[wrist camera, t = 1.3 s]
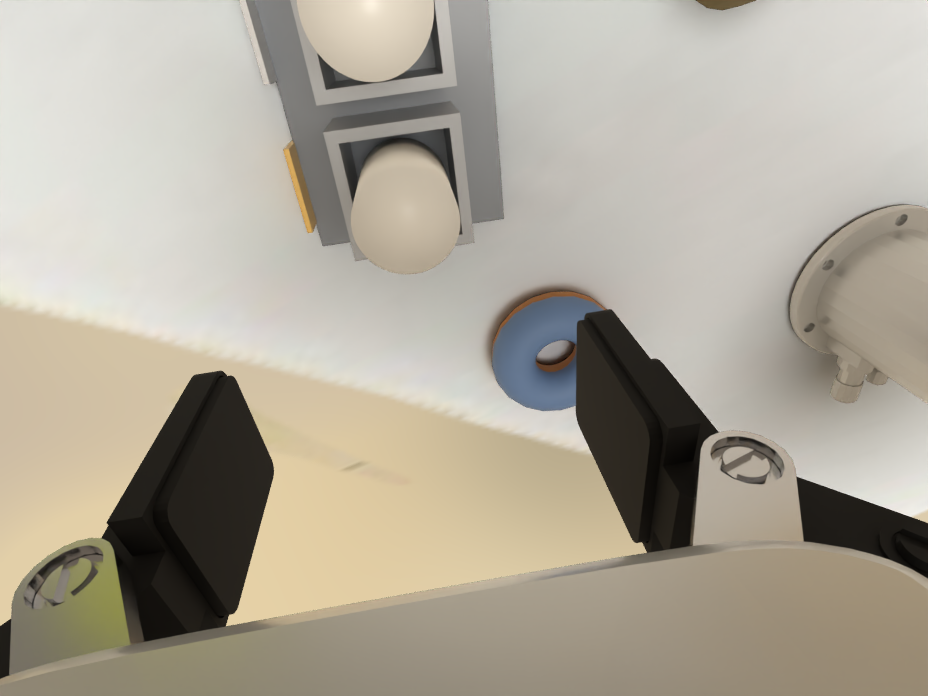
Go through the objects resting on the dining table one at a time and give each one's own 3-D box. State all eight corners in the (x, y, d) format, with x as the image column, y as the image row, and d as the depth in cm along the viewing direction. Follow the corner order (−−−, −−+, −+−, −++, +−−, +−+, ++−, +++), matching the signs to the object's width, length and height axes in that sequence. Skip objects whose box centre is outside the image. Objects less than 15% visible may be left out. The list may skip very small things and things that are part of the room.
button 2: (451, 218, 29) (466, 265, 24) (370, 231, 29) (364, 281, 23) (440, 131, 27) (453, 159, 21) (350, 144, 27) (338, 176, 21)
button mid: (431, 63, 25) (442, 73, 19) (335, 76, 25) (317, 90, 19) (415, -59, 23) (422, -92, 17) (308, -46, 22) (277, -73, 16)
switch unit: (501, 214, 34) (519, 245, 29) (320, 241, 34) (307, 278, 29) (458, -346, 21) (478, -465, 16) (163, -314, 21) (89, -425, 16)
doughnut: (459, 340, 39) (473, 375, 35) (563, 255, 37) (590, 284, 33) (529, 404, 44) (548, 441, 41) (623, 334, 42) (652, 366, 38)
